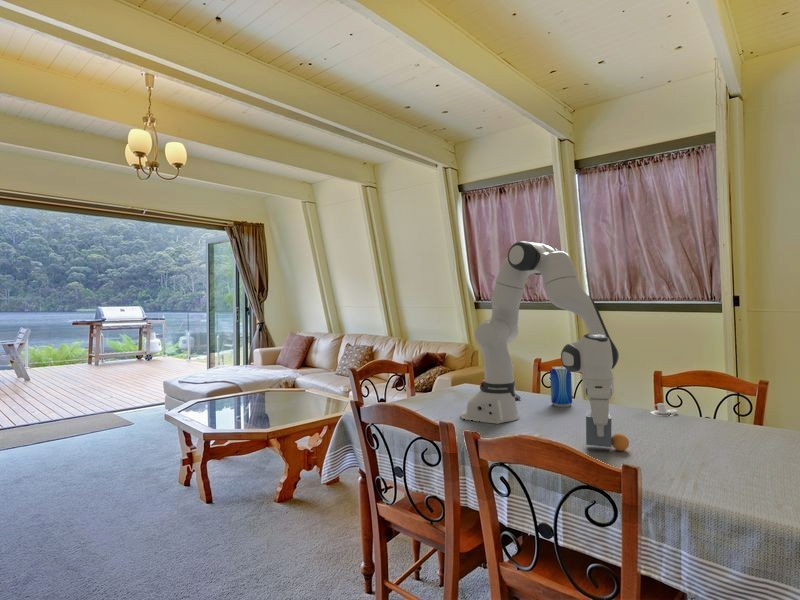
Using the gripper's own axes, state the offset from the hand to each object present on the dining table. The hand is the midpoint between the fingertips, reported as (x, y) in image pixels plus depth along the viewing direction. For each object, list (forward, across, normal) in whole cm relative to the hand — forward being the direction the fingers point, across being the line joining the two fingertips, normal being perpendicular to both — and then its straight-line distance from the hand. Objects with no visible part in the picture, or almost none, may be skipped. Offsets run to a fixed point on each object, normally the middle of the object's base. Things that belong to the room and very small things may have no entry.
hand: (600, 431), depth 142 cm
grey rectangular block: (+3, 0, -1) cm, 3 cm away
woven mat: (+6, -60, -38) cm, 71 cm away
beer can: (+5, -52, -13) cm, 54 cm away
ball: (+3, 0, +5) cm, 6 cm away
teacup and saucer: (+6, -44, +25) cm, 51 cm away
